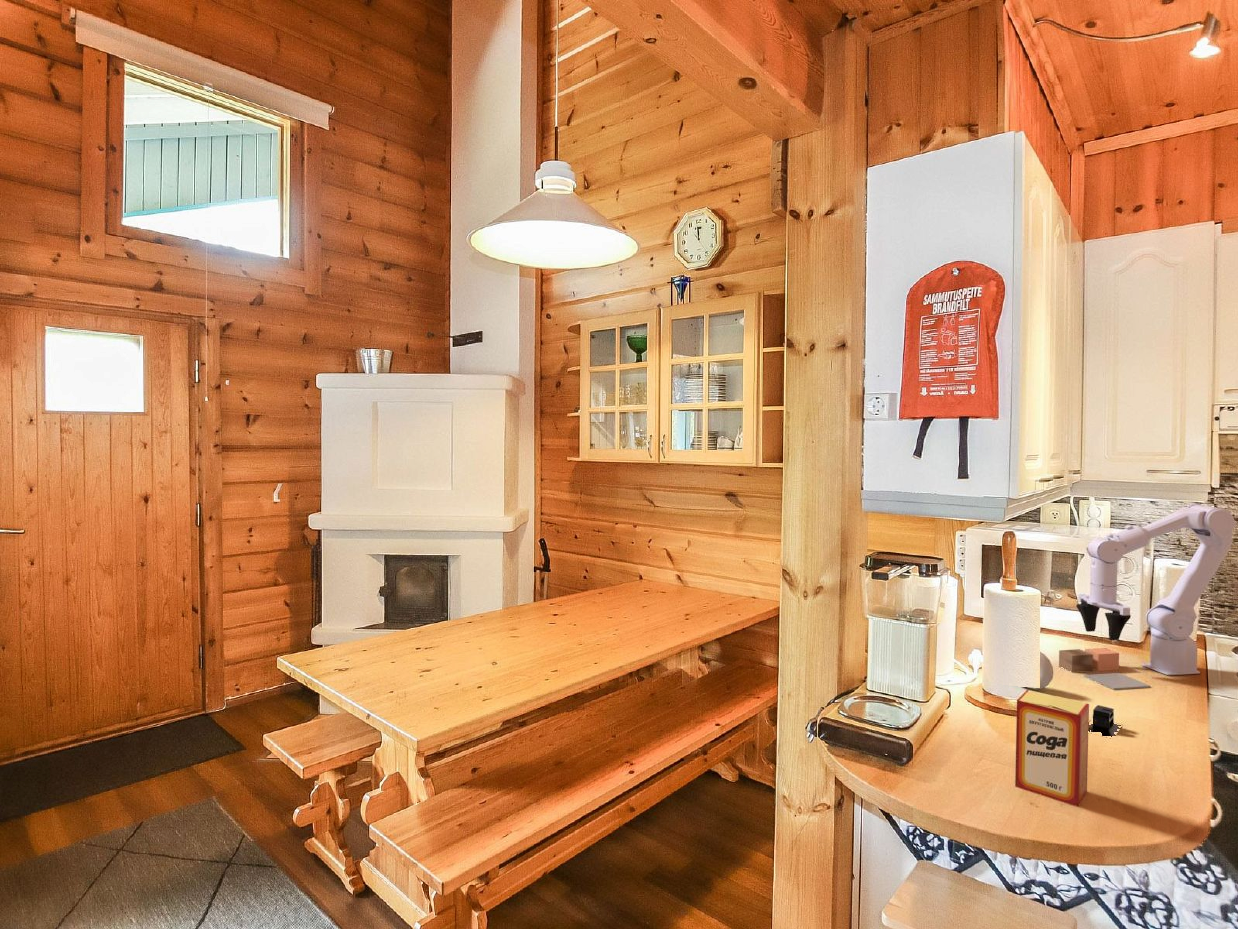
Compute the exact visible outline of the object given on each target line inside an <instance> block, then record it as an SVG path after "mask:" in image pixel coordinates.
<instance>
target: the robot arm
mask: <svg viewBox="0 0 1238 929" xmlns="http://www.w3.org/2000/svg"><path fill="white" fill-rule="evenodd" d="M1236 525H1237V523H1236V520H1235V519H1234V516H1233V514H1232V513H1231V511H1230V510H1228V509H1226V508H1223V507H1214V506H1209V505H1203V504H1200V503H1192V504H1190V505H1188V506H1186V507H1185V506H1184V507H1180V508H1179V509H1177V511H1175V512H1173V513H1171V514H1167V515H1166V516H1163V517H1161V518H1159V519H1157V520H1155V521H1153V522H1150V523H1148V524H1146V525H1144V526H1142V527H1141V526H1138V525H1130V524H1127V525H1125V526H1124V527H1123V528H1124V529H1122V530H1120V531H1116V532H1114V533H1107V534H1106V535H1105V537H1096V538H1094V539H1092V540H1091V541H1090V542H1089V543H1088V546H1086V547H1085V548H1086V549H1085V550H1086V553H1087V555H1088V556H1089V557H1090V581H1089V582H1090V584H1089V595H1087V594H1085V593H1084V594H1083V593H1082V594H1077V602H1079V603H1078V604H1076V605H1075V606H1076V608H1077V610H1078V612H1079V614H1080V615H1081V618H1082V621H1083V624H1084V625H1083V626H1084V628H1085V631H1086V632H1089V633H1090V632H1095V631H1096V627H1097V618H1098V614H1099V612H1100V609H1104V610H1107V611H1110V612H1105V613H1104V616H1105V618H1106V621H1107V625H1108V639H1109V640H1110V641H1119V640H1120V637H1121V634H1122V632H1123V629H1124V628H1125V626H1126V624H1127V622H1128V621H1129V620H1130V619H1131V607H1128V606H1127V605H1123V604H1122V603H1120V602H1118V600H1117V599H1118V598H1117V596H1118V594H1117V593H1118V592H1117V591H1118V565H1119V563H1118V562H1120V561H1121V559H1122V558H1123V556H1125V555H1126V554H1129V553H1132V552H1134V551H1135V552H1136V551H1137V550H1140V549H1141V548H1144V547H1147V546H1148V545H1149V544H1150V541H1151V540H1153V539H1154V538H1157V537H1160V536H1163V535H1166V534H1169V533H1171V532H1176V531H1178V530H1181V529H1190V531H1192V533H1194V534H1195V535H1196V538H1197V539H1198V541H1199V545H1198V548H1197V550H1196V551H1195V553H1194V554H1193V556H1192V558H1191V560H1190V561H1189V563H1188V564H1187V566H1186V567H1185V569H1184V571H1183V572H1182V574H1181V575H1180V577H1179V579H1178V580H1177V582H1176V584H1175V585H1174V587H1173V589H1172V590H1171V592H1170V594H1169V595H1167V597H1164V598H1162V599H1160V600H1158V601H1157V603H1156V604H1155V605H1154V606H1153V607H1151V608H1150V609H1148V610H1147V612H1146V613H1145V622H1146V624H1147V625H1148V626H1149V628H1150V656H1149V657H1150V659H1149V662H1141V663H1140V665H1141V666H1143V667H1145V668H1147V669H1150V670H1153V671H1156V672H1158V673H1161V674H1164V675H1167V676H1177V675H1178V676H1179V675H1181V676H1182V675H1194V674H1200V673H1201V671H1199V670H1198V646H1197V644H1196V642H1195V640H1194V639H1193V638H1192V637H1190V636H1191V635H1192V634H1193V632H1194V625H1195V622H1196V619H1197V618H1198V617H1197V613H1196V611H1195V609H1194V608H1195V606H1196V604H1197V603H1198V601H1199V600H1200V598H1201V597H1202V595H1203V593H1204V591H1205V590H1206V588H1207V587H1208V585H1209V583H1210V581H1211V580H1212V578H1213V577H1214V576H1215V573H1216V572H1217V570H1218V569H1219V567H1220V566H1221V564H1222V563H1223V561H1224V559H1225V557H1226V556H1227V554H1228V553H1229V551H1230V550H1231V547H1232V538H1233V531H1234V529H1235V527H1236Z"/></svg>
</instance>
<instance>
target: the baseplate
mask: <svg viewBox="0 0 1238 929" xmlns="http://www.w3.org/2000/svg"><path fill="white" fill-rule="evenodd" d="M1083 678H1086V679H1088V678H1089V679H1088V680H1090V679H1091V681H1093V682H1095V681H1096V682H1095V683H1097V682H1098V684H1099V683H1100V685H1102V684H1103V685H1102V686H1104V685H1105V686H1104V687H1107V688H1109V689H1111V690H1114V691H1116V690H1133V689H1147V688H1148V689H1149V688H1151V685H1150V684H1146V683H1145V682H1142V681H1140V680H1137V679H1135V678H1132V677H1130V676H1128V675H1125V674H1124V673H1120V672H1115V673H1114V672H1112V673H1097V674H1084V675H1083Z"/></svg>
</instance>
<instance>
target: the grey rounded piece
mask: <svg viewBox="0 0 1238 929" xmlns="http://www.w3.org/2000/svg"><path fill="white" fill-rule="evenodd" d="M1054 674H1055V673H1054V666H1053V665H1052V663H1051V661H1050V659H1049V658H1048V657H1047V655H1046V654H1045V653H1044V652H1041V651H1040V689H1044V688H1046V687H1047V686H1049V685H1050V683H1051V682H1052V680H1053V677H1054Z"/></svg>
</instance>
